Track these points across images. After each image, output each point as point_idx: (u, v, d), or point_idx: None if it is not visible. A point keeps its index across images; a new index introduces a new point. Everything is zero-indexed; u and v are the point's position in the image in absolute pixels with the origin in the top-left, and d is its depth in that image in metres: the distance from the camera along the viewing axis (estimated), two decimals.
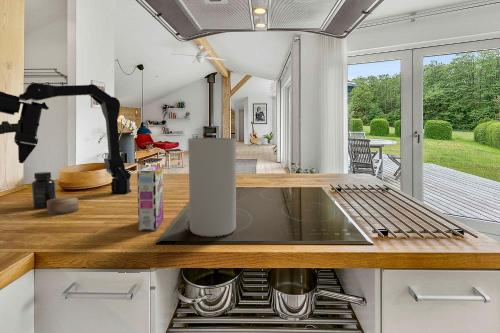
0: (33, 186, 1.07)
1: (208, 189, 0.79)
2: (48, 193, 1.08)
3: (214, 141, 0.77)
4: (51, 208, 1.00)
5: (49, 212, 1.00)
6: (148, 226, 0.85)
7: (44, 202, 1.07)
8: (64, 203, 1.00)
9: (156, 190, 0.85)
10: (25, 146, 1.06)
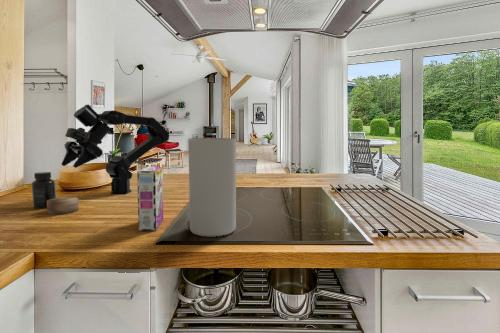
0: (33, 186, 1.07)
1: (208, 189, 0.79)
2: (48, 193, 1.08)
3: (214, 141, 0.77)
4: (51, 207, 1.00)
5: (49, 212, 1.00)
6: (148, 226, 0.85)
7: (44, 202, 1.07)
8: (64, 203, 1.01)
9: (156, 190, 0.85)
10: (86, 155, 1.15)
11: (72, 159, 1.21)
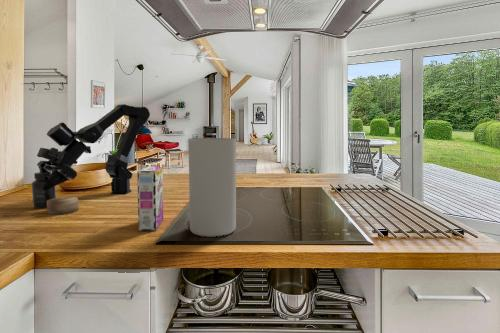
0: (33, 186, 1.07)
1: (208, 189, 0.79)
2: (48, 193, 1.08)
3: (214, 141, 0.77)
4: (52, 207, 1.00)
5: (50, 212, 1.00)
6: (148, 226, 0.85)
7: (44, 202, 1.07)
8: (65, 202, 1.01)
9: (156, 190, 0.85)
10: (58, 176, 1.09)
11: None
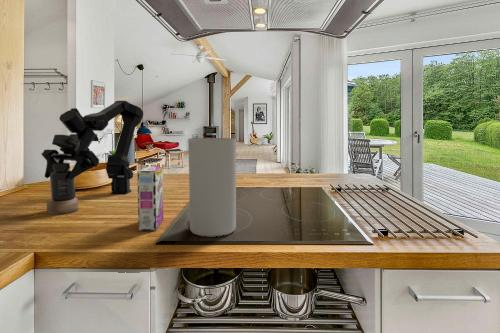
0: (55, 178, 1.00)
1: (208, 189, 0.79)
2: (71, 184, 1.03)
3: (214, 141, 0.77)
4: (54, 208, 1.00)
5: (51, 212, 1.00)
6: (148, 226, 0.85)
7: (68, 194, 1.02)
8: (67, 203, 1.01)
9: (156, 190, 0.85)
10: (81, 164, 1.04)
11: None
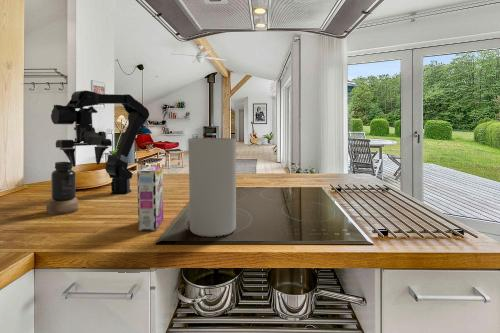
0: (59, 177, 0.99)
1: (208, 189, 0.79)
2: (73, 184, 1.03)
3: (214, 141, 0.77)
4: (53, 208, 0.99)
5: (50, 213, 1.00)
6: (148, 226, 0.85)
7: (70, 194, 1.02)
8: (66, 203, 1.01)
9: (156, 190, 0.85)
10: None
11: None
